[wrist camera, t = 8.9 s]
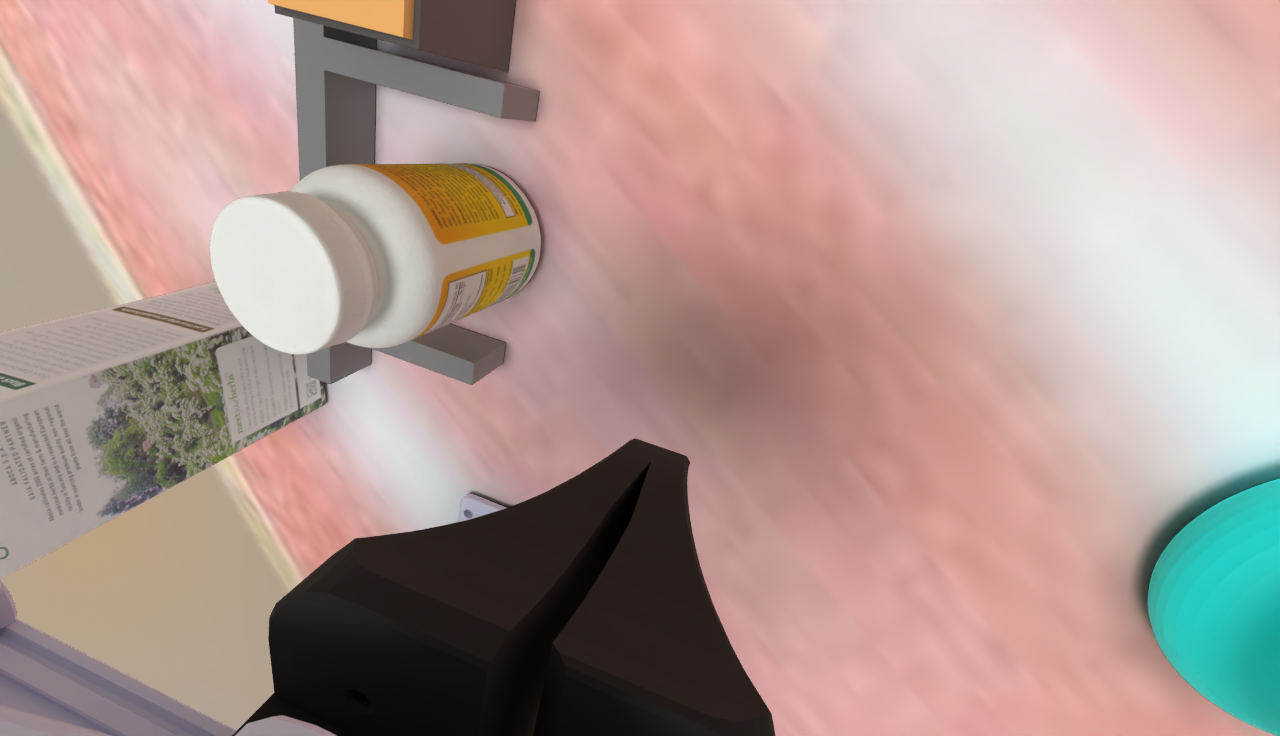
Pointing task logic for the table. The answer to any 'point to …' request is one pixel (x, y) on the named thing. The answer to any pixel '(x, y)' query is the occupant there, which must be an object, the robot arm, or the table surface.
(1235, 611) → the donuts
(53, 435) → the syrup box
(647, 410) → the table surface
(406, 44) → the grey tray with block
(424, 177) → the supplement bottle
